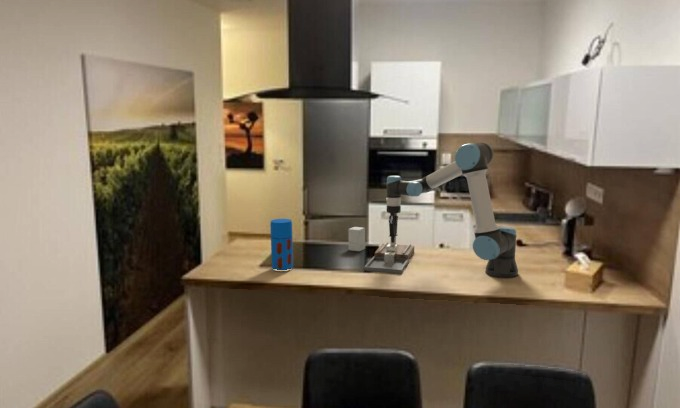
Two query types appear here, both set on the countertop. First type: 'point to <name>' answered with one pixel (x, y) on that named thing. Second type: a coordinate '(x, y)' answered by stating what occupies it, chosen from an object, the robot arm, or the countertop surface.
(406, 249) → the slot board
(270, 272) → the countertop surface
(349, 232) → the supplement box
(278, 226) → the thermos
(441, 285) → the countertop surface
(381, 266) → the tray
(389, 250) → the white squarish block
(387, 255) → the beige block
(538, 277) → the countertop surface
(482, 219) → the robot arm
